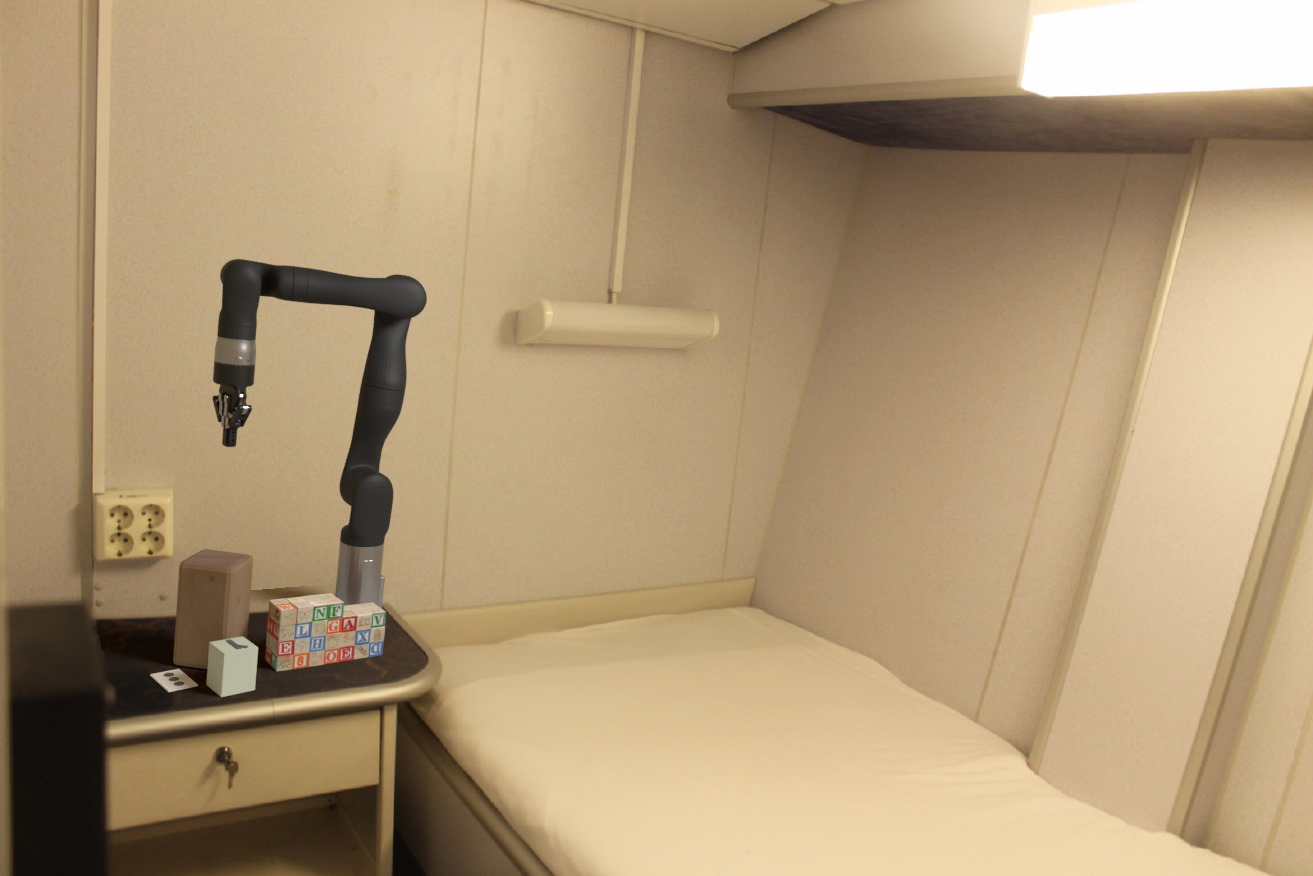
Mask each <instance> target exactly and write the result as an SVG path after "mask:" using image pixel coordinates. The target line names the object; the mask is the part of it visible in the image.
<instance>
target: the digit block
mask: <svg viewBox="0 0 1313 876" xmlns="http://www.w3.org/2000/svg"><path fill="white" fill-rule="evenodd" d="M258 655H259V647H258V646H257V645H255V643H253V642H251V641H250V640H249V639H248V638H247V639H246V638H245V637H243V636H242V637H236V638H230V639H224V640H219V641H213V642H209V655H208V669H206V670H207V671H206V682H205V683H206V686H207V687H208V688H210V689H211V690H212V691H213V692H215V694H217V695H218V696H219V697H220V698H223V697H224V698H225V697H228V696H234V695H238V694H243V693H248V692H252V691H256V681H257V668H258V667H257V666H258V657H259V656H258Z"/></svg>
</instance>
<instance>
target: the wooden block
mask: <svg viewBox="0 0 1313 876" xmlns="http://www.w3.org/2000/svg"><path fill="white" fill-rule="evenodd" d="M253 565H254V557H253V555H250V554H247V553H237V552H232V551H231V552H230V551H224V550H215V549H209V548H207V549H206V548H204V549H202V550H200V551H197V552H196V553H194V554H192V555H190V556H189V557H187V558H184V560H183V559H182V561H180V564H179V567H178V580H177V597H176V598H177V599H176V610H175V611H176V613H175V626H174V627H175V630H174V645H173V659H172V662H173V664H174V665H175V666H182V667H187V668H196V669H203V670H204V669H205V670H207V669H208V655H209V642H213V641H219V640H224V639H230V638H236V637H242V636H243V637H245V638H246V639H247V640H248V636H249V635H248V632H249V622H250V621H249V619H250V606H251V593H252V592H251V591H252V580H253V579H252V578H253V569H254V568H253Z"/></svg>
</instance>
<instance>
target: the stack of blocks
mask: <svg viewBox="0 0 1313 876" xmlns="http://www.w3.org/2000/svg"><path fill="white" fill-rule="evenodd" d="M386 617H387V611H386V610H384V609H383V608H382V609H381V608H380V607H378V606H377V605H375V604H374V603H373V602H372V603H364V604H354V605H346V606H344V602H343V601H341V600H340V599H339V598H337V597H335V594H333V593H332V592H330V593H329V592H327V593H319V594H310V595H302V596H295V597H286V598H276V599H269V601H268V614H267V619H266V637H265V638H266V639H265V640H266V641H265V652H264V653H265V654H264V661H265V662H266V663H268V664H269V666H271V668H273V670H274V671H275V672H282V671H289V670H297V669H304V668H310V667H311V668H312V667H317V666H323V665H328V664H334V663H341V662H347V661H353V660H360V659H366V658H373V657H379V656H383V651H384V642H385V634H386V619H387V618H386Z"/></svg>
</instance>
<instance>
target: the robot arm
mask: <svg viewBox="0 0 1313 876" xmlns="http://www.w3.org/2000/svg"><path fill="white" fill-rule="evenodd" d="M219 277H220V282H221V284H222V289H221V290H222V294H221V308H220V311H219V314H218V321H217V334H216V335H217V336H216V342H215V346H214V359H213V373H212V381H213V383H214V384H216V385H220V386H219V387H218V395H213V396H212V402H213V407H214V410H215V414H216V418H217V422H218V423H220V424H221V425H220V426H221V427H222V437H221V438H222V439H221V440H222V442H221V444H222V446H224V447H226V448H235V447H236V446H237V438H238V437H237V436H238V429H240V428H244V426H245V424H246V422H247V420H248V418H249V417H250V416H251V413H252V411H253V407H252V404H248V403H247V397H248V396H247V388H249V387H253V385H254V384H255V371H256V358H257V357H256V356H257V344H256V341H257V340H256V339H257V338H256V336H257V325H258V321H257V319H258V318H257V316H258V315H257V314H258V309H259V304H260V299H261V297H267V298H275V299H278V300H281V301H288V302H295V303H303V304H305V303H306V304H313V305H315V304H316V305H331V306H342V307H343V306H345V307H353V308H361V309H367V310H368V309H369V310H372V311H374V312H373V313H374V314H373V324H372V325H373V327H372V334H371V340H370V344H369V348H368V352H367V356H366V359H365V364H364V367H363V368H364V370H363V374H362V378H361V383H360V388H359V393H358V400H357V406H356V413H355V419H354V423H353V429H352V433H351V434H352V435H351V440H350V445H349V448H348V453H347V456H346V459H345V463H344V466H343V469H342V472H341V476H340V480H339V493H340V497H341V499H342V500H343V501H344V503H346V504H347V505H348V506H350V512H349V513H350V514H349V520H348V524H346V525H344V526H343V527H342V528H341V530H340V536H339V537H340V538H339V546H338V547H339V549H338V557H337V558H338V560H337V572H336V580H335V582H336V583H335V591H334V592H335V594H334V596H335V597H337V598H339V599H340V600H341V601H343V602H344V606H346V605H354V604H364V603H372V602H373V603H374V604H375V605H377V606H378V607H380V608H381V609H383V599H384V589H385V588H384V587H385V579H386V578H385V576H384V575H383V574H382V568H383V559H384V558H383V557H384V547H385V546H384V545H385V537H386V535H387V534H388V532H389V529H390V525H391V524H390V523H391V519H392V518H391V517H392V510H393V504H394V487H393V484H392V482H391V479H390V478H389V477H388V476H386V475H385V474H383V473H382V472H380V467H381V466H380V464H381V459H382V458H381V457H382V453H383V452H382V451H383V448H384V445H385V442H386V440H387V438H388V437H389V435H390V433H391V432H392V430H393V429H394V427H395V425H396V423H397V421H398V419H399V417H400V415H401V412H402V409H403V404H404V400H405V394H406V393H405V392H406V388H407V379H408V378H407V373H408V372H407V369H408V368H407V356H406V355H407V352H406V350H407V349H406V348H407V347H406V344H407V336H408V332H409V328H410V325H411V322H412V319H413V318H415V317H417V316H418V315H420V314H421V313H422V312H423V311H424V309H425V307H426V305H427V301H428V300H427V298H428V295H427V291H426V289H425V287H424V286H423V284H422V283H421V282H419V280H417V279H416V278H414V277H413V276H410V275H407V274H398V273H397V274H391V275H388V276H386V277H368V276H367V277H365V276H356V275H350V274H345V273H344V274H343V273H337V272H333V271H328V270H322V269H316V268H311V267H303V266H294V265H284V264H283V265H282V264H281V265H279V264H278V265H277V264H276V265H275V264H271V263H265V262H259V261H255V260H249V259H245V258H244V259H242V258H235V259H231V260H229V261H227V262H226V263H225V264H223V266H222V268H221V270H220V274H219Z"/></svg>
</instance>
